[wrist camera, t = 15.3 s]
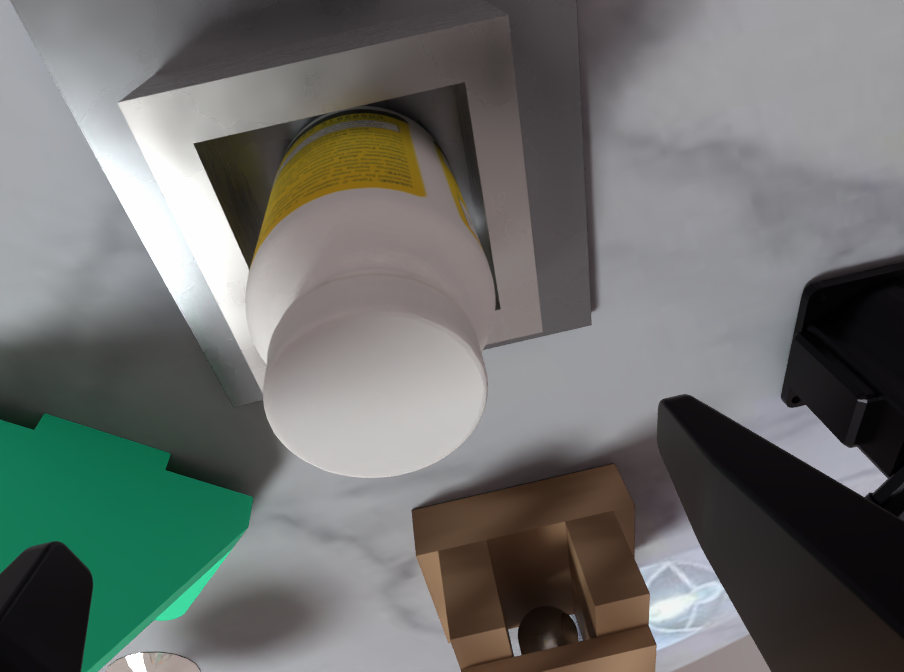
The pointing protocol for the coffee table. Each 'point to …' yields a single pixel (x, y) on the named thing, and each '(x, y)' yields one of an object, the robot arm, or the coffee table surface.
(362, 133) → the supplement bottle
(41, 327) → the coffee table surface
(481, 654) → the mount
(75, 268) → the coffee table surface
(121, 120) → the socket
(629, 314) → the coffee table surface
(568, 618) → the pin
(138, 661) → the wineglass
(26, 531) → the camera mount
